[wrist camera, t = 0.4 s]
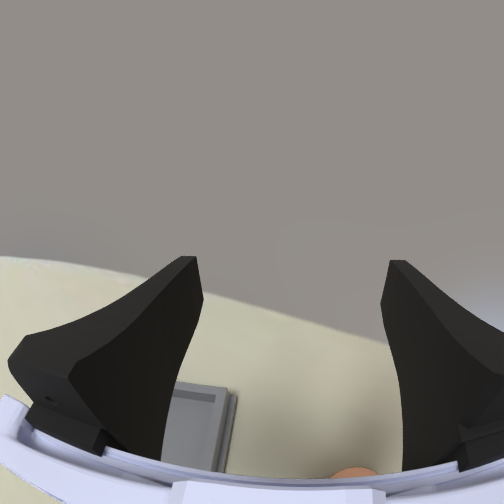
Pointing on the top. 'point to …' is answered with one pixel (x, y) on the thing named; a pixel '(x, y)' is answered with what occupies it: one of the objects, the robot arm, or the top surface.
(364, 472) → the terracotta ball
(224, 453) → the grey rimmed tray
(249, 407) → the top surface
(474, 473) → the robot arm
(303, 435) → the top surface
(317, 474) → the top surface
